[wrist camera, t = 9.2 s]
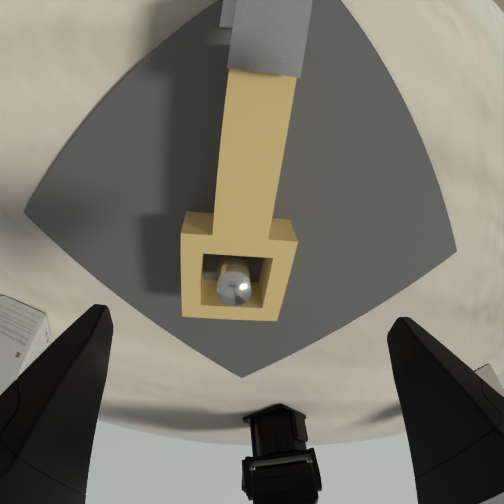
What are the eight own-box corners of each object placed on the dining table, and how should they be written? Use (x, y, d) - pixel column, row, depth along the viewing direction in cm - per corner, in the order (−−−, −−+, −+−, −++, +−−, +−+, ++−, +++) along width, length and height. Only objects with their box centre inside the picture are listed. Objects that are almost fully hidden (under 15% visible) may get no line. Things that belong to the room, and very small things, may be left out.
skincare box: (47, 311, 22) (1, 423, 12) (52, 339, 24) (18, 440, 14) (-1, 292, 21) (-53, 389, 11) (7, 321, 23) (-34, 411, 13)
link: (272, 295, 22) (277, 321, 20) (185, 290, 21) (182, 316, 19) (320, 59, 13) (337, 57, 11) (199, 42, 12) (194, 36, 10)
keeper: (227, -23, 10) (227, -47, 7) (311, -10, 11) (333, -29, 7) (214, 68, 13) (209, 67, 10) (297, 79, 14) (316, 81, 11)
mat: (241, 375, 29) (241, 377, 28) (26, 210, 17) (24, 212, 16) (455, 249, 21) (456, 251, 21) (300, -43, 9) (301, -45, 9)
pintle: (231, 275, 21) (232, 310, 18) (211, 257, 20) (209, 292, 17) (253, 260, 20) (258, 294, 17) (234, 241, 19) (236, 274, 16)
